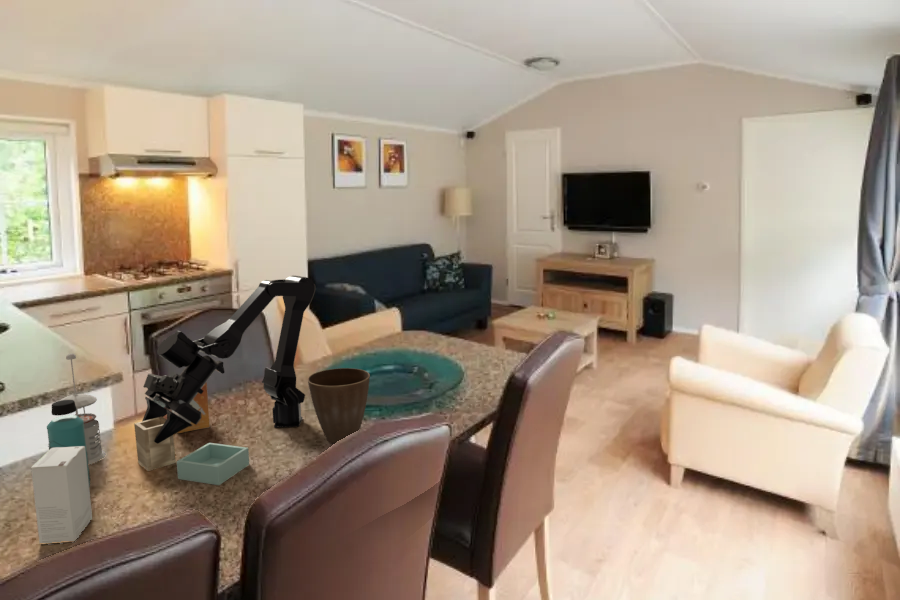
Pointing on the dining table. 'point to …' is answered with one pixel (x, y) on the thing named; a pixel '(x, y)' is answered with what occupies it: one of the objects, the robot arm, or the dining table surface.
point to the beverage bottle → (66, 428)
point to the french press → (87, 422)
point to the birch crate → (153, 445)
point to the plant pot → (339, 400)
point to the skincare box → (61, 494)
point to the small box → (201, 405)
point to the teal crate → (213, 463)
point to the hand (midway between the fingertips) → (147, 437)
